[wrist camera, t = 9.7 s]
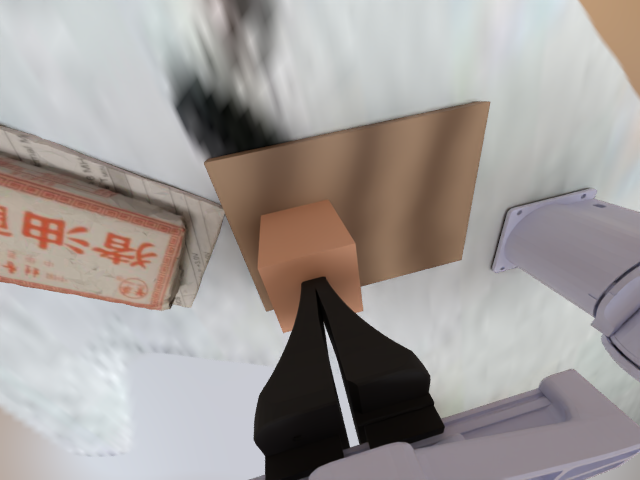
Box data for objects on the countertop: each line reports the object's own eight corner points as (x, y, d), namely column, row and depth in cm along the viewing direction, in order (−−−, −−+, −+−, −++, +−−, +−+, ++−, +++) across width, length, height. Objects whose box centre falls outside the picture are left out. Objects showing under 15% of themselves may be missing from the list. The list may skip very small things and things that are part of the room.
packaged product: (-234, 280, 11) (-359, 48, 8) (-99, 232, 15) (-139, 67, 12) (180, 340, 18) (219, 232, 14) (196, 296, 22) (230, 203, 18)
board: (477, 101, 18) (490, 101, 17) (453, 253, 25) (461, 259, 24) (207, 159, 16) (203, 162, 15) (266, 302, 24) (266, 311, 22)
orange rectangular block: (328, 199, 18) (355, 243, 12) (337, 254, 21) (363, 310, 15) (260, 215, 18) (257, 268, 12) (279, 269, 20) (283, 332, 15)
